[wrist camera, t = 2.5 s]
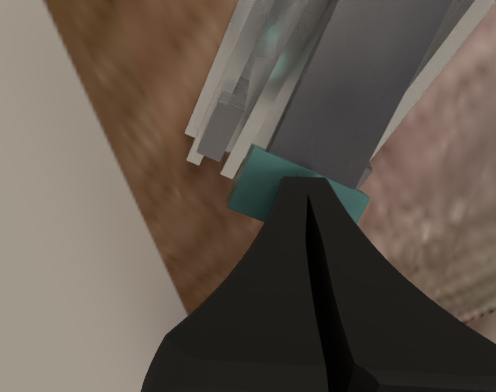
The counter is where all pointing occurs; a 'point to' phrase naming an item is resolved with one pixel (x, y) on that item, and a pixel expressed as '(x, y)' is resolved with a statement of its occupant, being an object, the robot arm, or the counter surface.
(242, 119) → the heat sink
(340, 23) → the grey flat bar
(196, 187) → the counter surface
